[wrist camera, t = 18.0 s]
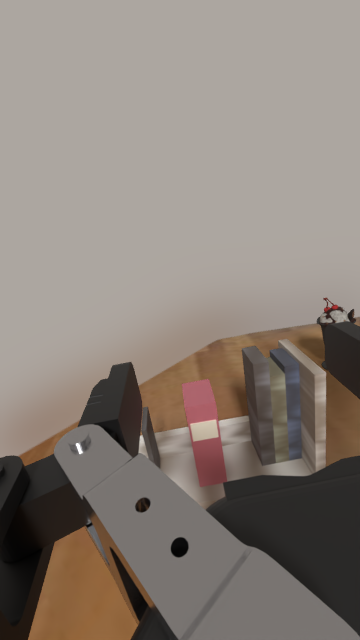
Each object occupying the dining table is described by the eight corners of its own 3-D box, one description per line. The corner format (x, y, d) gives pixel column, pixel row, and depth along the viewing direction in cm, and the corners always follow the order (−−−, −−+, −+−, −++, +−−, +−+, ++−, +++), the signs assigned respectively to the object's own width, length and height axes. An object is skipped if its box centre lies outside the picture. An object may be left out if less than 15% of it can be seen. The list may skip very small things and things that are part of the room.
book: (219, 451, 40) (208, 379, 36) (227, 483, 35) (215, 402, 31) (195, 456, 40) (181, 383, 36) (200, 488, 35) (184, 408, 31)
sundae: (310, 366, 59) (308, 298, 55) (329, 355, 62) (330, 289, 57) (340, 378, 54) (342, 303, 49) (360, 365, 57) (364, 293, 52)
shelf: (291, 434, 43) (286, 335, 37) (325, 488, 34) (326, 368, 29) (122, 467, 42) (93, 371, 37) (113, 529, 33) (74, 415, 28)
